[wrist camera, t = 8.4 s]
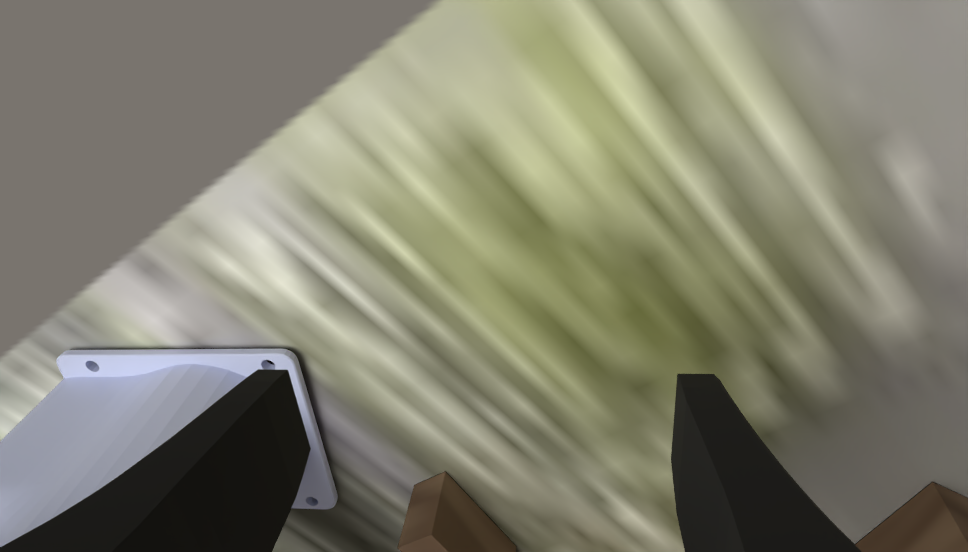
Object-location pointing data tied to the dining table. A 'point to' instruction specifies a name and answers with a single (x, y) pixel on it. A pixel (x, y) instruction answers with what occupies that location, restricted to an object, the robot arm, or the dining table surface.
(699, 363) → the dining table surface
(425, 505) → the holder
